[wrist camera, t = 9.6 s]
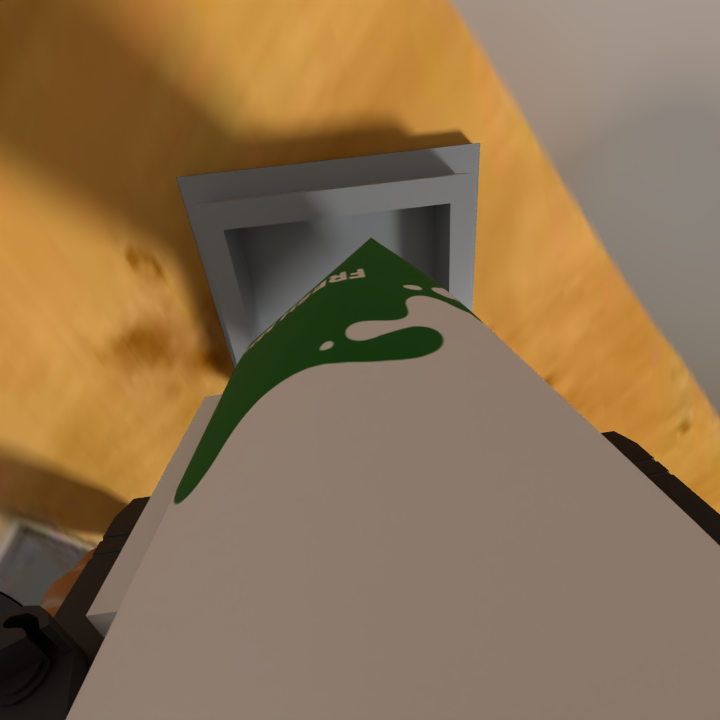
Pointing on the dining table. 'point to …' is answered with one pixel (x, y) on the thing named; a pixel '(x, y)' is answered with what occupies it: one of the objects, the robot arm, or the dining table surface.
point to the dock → (329, 227)
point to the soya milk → (409, 539)
